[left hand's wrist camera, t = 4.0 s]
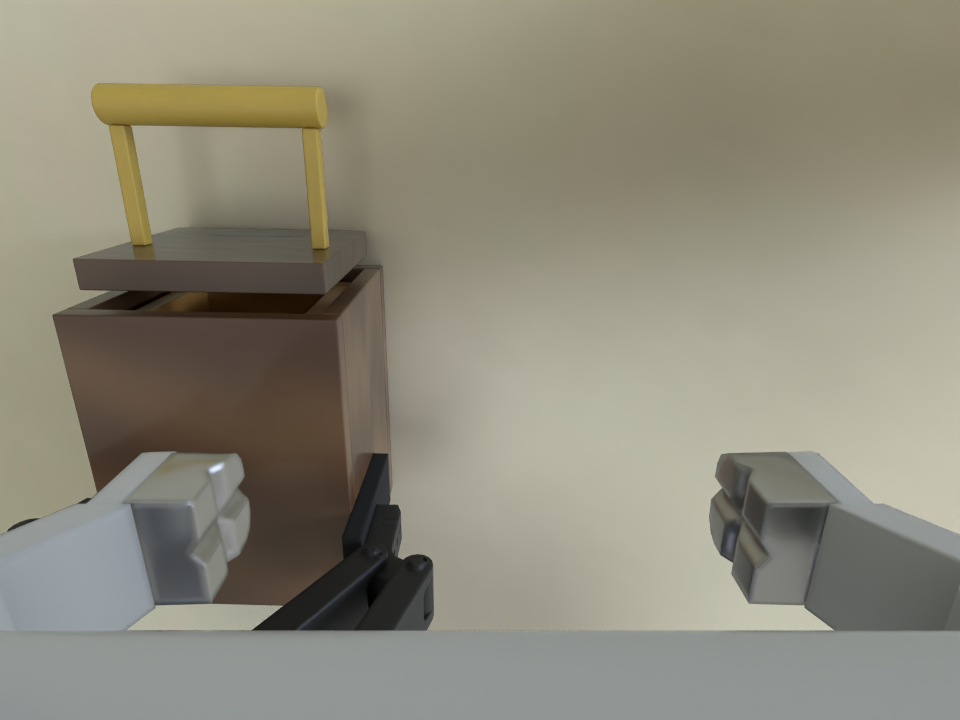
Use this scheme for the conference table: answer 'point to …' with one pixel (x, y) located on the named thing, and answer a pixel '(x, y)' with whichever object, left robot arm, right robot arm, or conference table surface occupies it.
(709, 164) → the conference table surface
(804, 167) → the conference table surface
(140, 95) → the drawer
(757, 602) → the left robot arm
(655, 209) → the conference table surface
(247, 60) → the conference table surface
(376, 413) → the cabinet
